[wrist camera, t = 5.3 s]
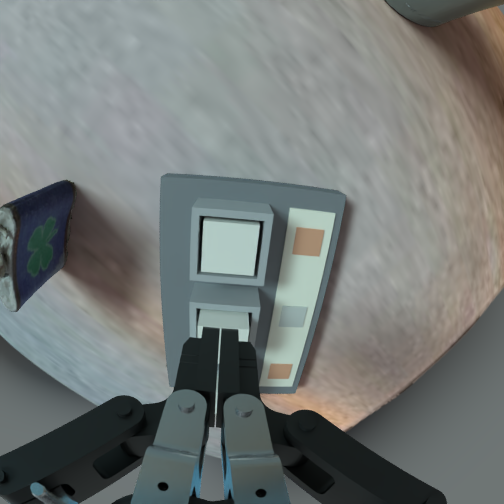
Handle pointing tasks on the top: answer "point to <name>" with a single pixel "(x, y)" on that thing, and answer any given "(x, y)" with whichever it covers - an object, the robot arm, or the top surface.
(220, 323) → the button middle
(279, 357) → the board
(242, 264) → the button
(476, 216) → the top surface
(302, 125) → the top surface
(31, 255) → the flask
